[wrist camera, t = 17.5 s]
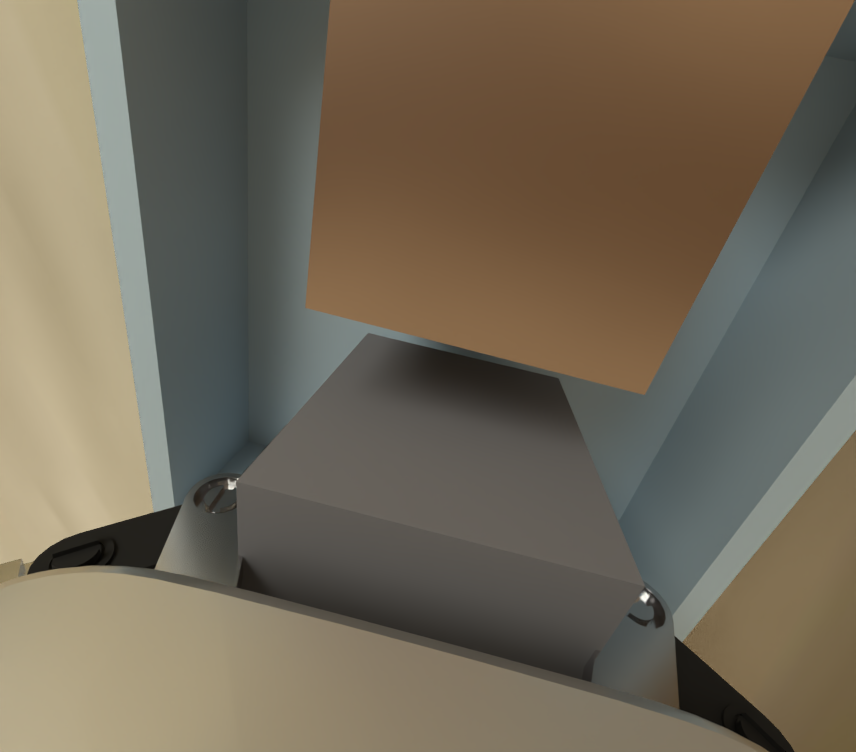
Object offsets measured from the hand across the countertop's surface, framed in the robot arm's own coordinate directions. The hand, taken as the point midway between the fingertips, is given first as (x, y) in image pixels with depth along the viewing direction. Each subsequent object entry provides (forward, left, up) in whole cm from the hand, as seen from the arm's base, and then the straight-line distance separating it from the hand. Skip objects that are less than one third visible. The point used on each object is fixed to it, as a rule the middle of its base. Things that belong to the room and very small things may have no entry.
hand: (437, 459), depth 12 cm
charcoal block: (0, 0, -2) cm, 2 cm away
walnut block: (-8, 0, -4) cm, 9 cm away
